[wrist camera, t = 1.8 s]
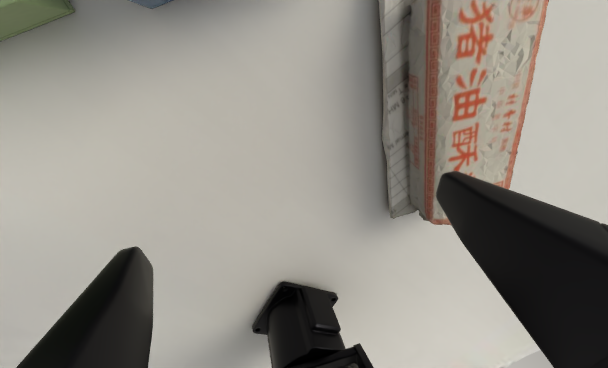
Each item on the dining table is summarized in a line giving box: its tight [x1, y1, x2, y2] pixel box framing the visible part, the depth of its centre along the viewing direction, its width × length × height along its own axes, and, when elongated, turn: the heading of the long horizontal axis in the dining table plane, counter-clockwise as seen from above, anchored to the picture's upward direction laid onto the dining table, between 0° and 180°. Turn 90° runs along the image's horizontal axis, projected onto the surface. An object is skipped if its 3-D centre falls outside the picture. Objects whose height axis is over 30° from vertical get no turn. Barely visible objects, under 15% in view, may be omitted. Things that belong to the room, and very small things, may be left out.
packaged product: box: [379, 0, 549, 226], centre depth 19 cm, size 18×5×10 cm
